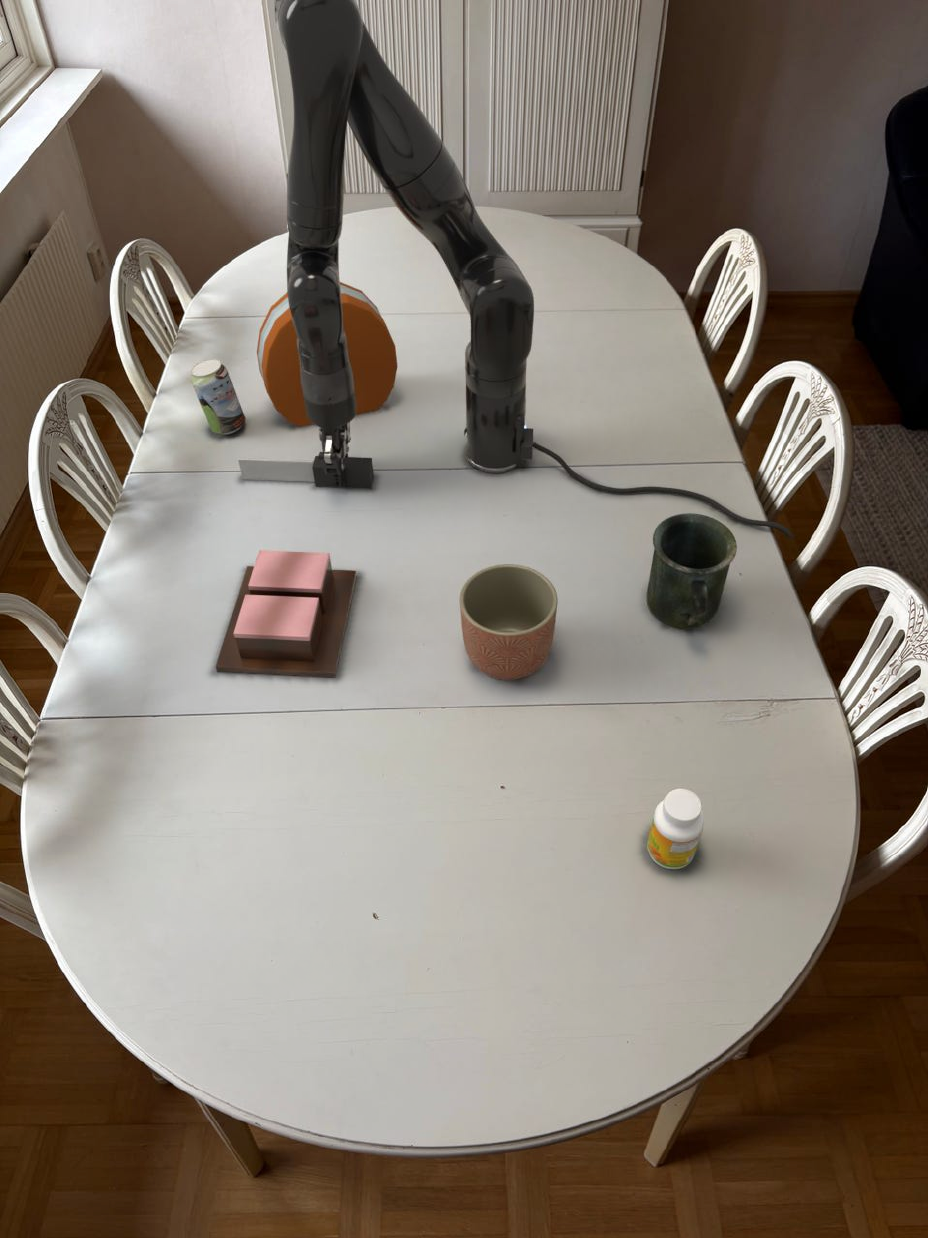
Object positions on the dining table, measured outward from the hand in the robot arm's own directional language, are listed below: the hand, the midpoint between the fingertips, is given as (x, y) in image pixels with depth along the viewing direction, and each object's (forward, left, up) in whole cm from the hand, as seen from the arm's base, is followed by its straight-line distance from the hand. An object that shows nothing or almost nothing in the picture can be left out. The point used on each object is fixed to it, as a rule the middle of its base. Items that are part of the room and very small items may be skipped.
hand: (341, 478), depth 158 cm
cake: (+2, +30, -1) cm, 30 cm away
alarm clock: (+5, -21, -1) cm, 22 cm away
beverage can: (+22, -13, -1) cm, 26 cm away
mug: (-52, +25, -1) cm, 58 cm away
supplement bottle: (-48, +62, -1) cm, 78 cm away
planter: (-28, +34, -1) cm, 44 cm away
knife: (+6, 0, -1) cm, 6 cm away
